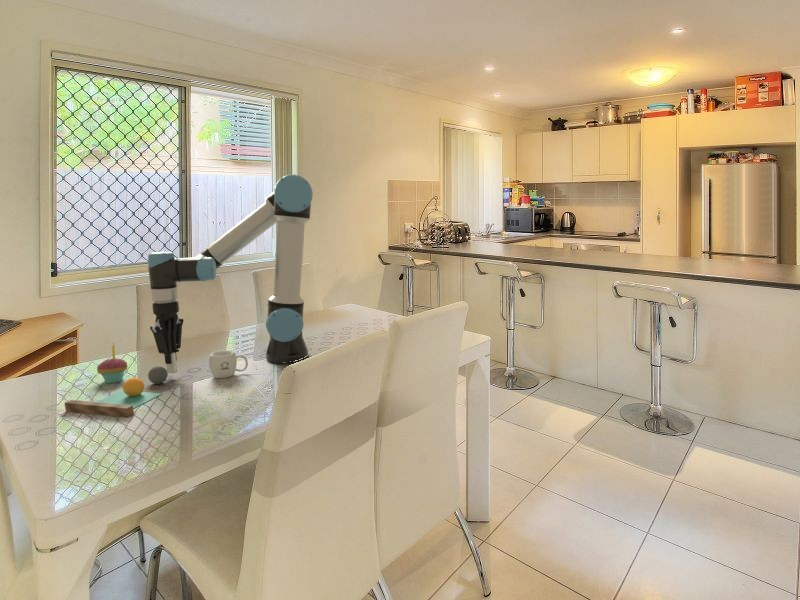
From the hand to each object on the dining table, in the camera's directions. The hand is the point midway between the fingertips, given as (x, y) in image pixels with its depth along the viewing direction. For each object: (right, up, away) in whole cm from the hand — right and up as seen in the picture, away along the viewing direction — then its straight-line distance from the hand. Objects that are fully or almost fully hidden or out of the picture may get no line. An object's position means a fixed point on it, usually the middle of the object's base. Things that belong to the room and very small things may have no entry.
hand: (172, 372), depth 157 cm
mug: (+18, -2, +2) cm, 18 cm away
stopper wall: (-7, -7, -27) cm, 29 cm away
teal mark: (-5, -5, -19) cm, 21 cm away
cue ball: (-2, 0, -5) cm, 6 cm away
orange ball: (-4, -2, -16) cm, 16 cm away
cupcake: (-18, -3, -2) cm, 18 cm away
